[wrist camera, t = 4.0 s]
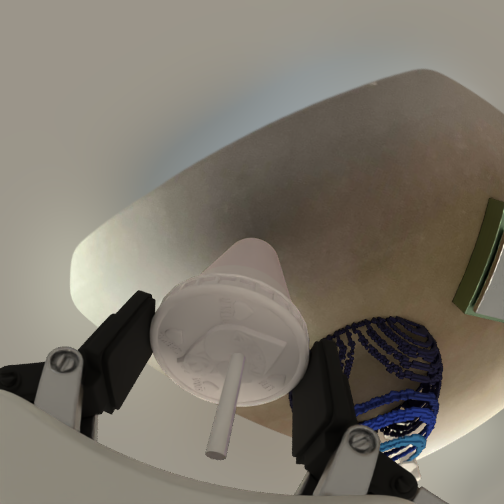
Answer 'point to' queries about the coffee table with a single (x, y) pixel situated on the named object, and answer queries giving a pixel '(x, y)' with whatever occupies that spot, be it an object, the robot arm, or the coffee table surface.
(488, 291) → the scale platform
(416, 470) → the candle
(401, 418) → the decorative bowl
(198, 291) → the smoothie
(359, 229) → the coffee table surface
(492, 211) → the scale
